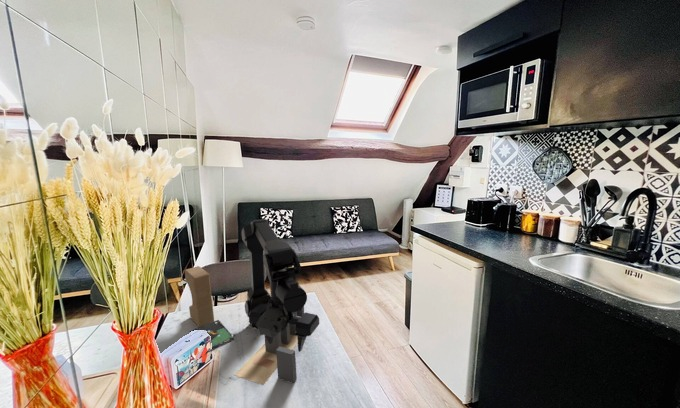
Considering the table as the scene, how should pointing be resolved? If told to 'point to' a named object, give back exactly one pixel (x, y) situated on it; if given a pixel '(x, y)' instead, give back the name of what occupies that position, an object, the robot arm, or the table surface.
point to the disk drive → (217, 333)
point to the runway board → (263, 364)
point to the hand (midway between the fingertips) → (285, 347)
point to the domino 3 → (286, 364)
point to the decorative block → (200, 296)
